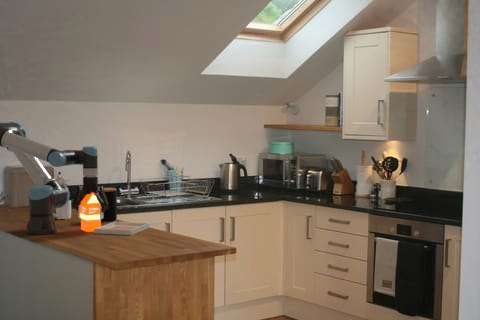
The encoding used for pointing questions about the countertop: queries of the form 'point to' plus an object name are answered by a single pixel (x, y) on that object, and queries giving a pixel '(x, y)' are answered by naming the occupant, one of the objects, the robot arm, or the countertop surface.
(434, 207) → the countertop surface
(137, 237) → the countertop surface
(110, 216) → the coffee jar
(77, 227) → the countertop surface
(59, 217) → the mug
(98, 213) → the orange juice
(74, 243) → the countertop surface
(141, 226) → the tray
